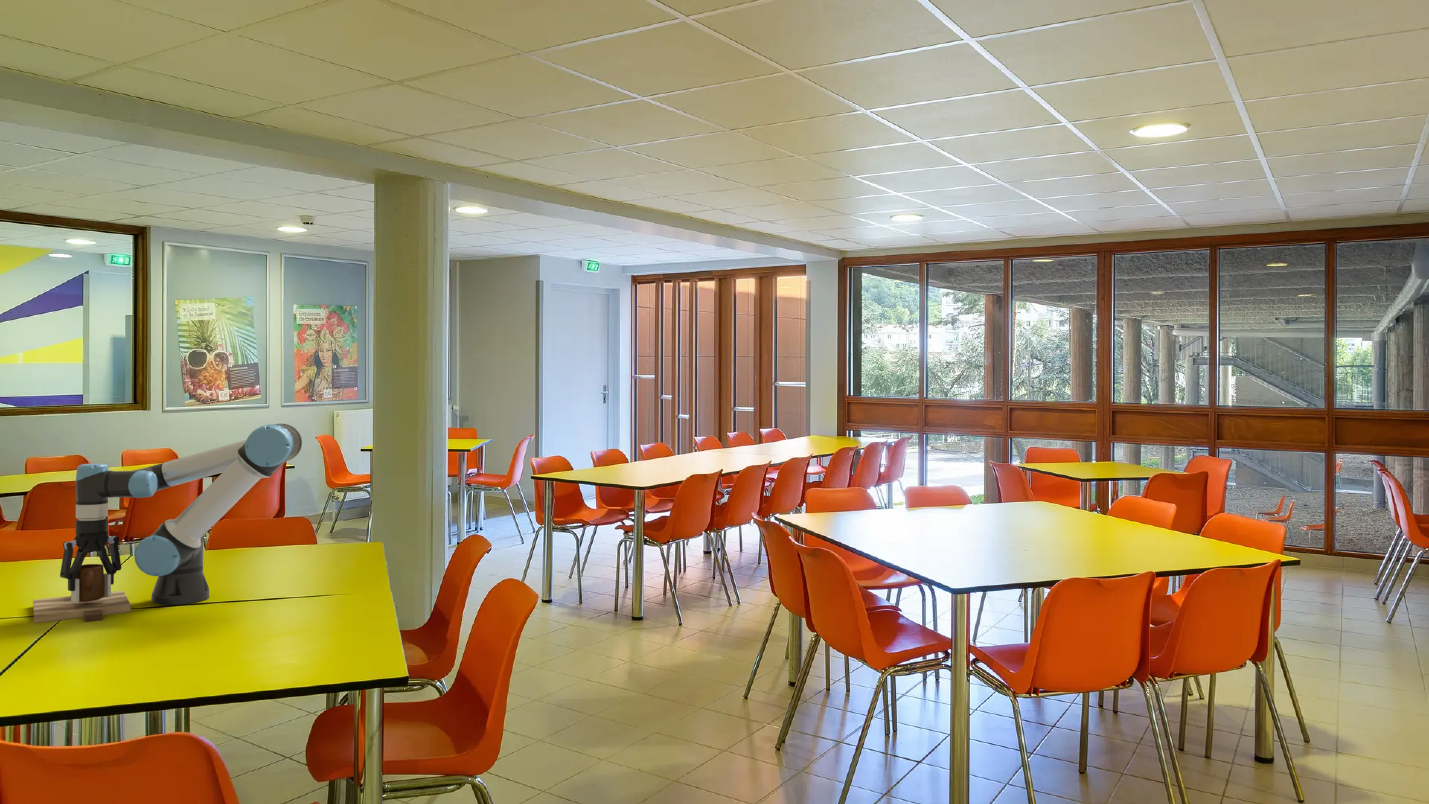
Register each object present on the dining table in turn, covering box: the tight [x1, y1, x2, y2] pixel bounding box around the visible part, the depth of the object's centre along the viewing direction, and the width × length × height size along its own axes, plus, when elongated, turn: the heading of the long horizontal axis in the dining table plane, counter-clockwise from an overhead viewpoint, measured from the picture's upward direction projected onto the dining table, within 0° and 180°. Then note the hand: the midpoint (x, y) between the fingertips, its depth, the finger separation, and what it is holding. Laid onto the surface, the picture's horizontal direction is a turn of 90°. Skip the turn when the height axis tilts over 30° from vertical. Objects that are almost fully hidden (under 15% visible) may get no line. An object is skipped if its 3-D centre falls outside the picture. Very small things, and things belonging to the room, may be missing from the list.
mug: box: [76, 563, 105, 602], centre depth 259 cm, size 12×8×9 cm, turn 38°
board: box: [32, 590, 132, 624], centre depth 260 cm, size 28×22×2 cm
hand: (91, 599), depth 259 cm, fingers closed on mug, 7 cm apart
